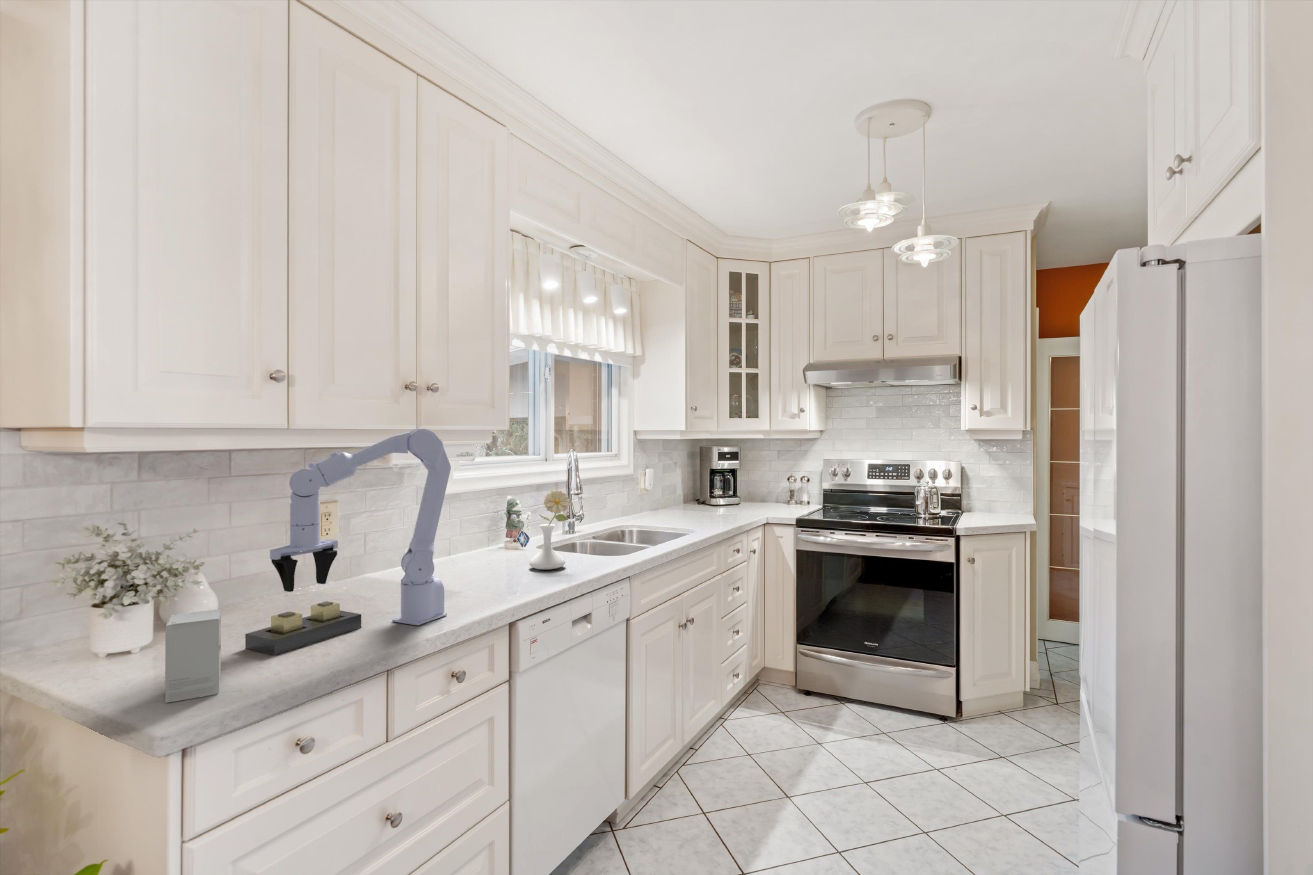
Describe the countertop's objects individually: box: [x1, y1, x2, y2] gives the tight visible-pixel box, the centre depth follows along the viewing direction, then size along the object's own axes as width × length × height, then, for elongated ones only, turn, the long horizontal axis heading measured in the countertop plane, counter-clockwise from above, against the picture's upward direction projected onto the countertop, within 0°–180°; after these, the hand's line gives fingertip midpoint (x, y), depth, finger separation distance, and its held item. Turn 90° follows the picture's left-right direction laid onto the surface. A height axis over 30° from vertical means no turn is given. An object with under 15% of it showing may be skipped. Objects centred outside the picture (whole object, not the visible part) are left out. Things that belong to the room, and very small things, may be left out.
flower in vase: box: [528, 489, 571, 571], centre depth 206 cm, size 13×11×25 cm
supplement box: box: [164, 608, 222, 703], centre depth 109 cm, size 7×7×13 cm
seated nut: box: [310, 600, 341, 623], centre depth 141 cm, size 4×4×6 cm
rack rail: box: [244, 610, 362, 656], centre depth 137 cm, size 20×9×3 cm, turn 154°
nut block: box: [270, 611, 303, 635], centre depth 133 cm, size 4×4×6 cm
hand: (305, 587), depth 140 cm, fingers open, 7 cm apart
